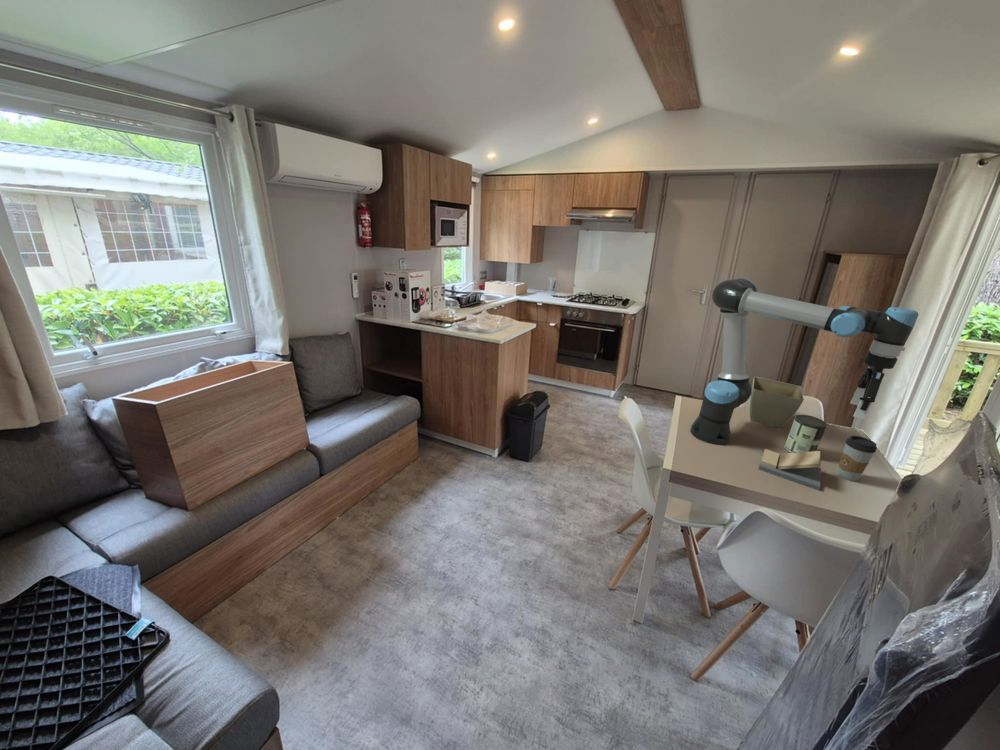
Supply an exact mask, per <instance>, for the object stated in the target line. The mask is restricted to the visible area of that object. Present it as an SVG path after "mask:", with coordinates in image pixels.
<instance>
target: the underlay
mask: <svg viewBox="0 0 1000 750" xmlns="http://www.w3.org/2000/svg"><path fill="white" fill-rule="evenodd" d="M780 456H781V453H779V452H775V451H772V450H770V449H767V448H765V449H764V451H763V453H762V456H761V459H760V463H759V466H758V470H760V471H763V472H766V473H768V474H771V475H774V476H777V477H780V478H782V479H785V480H788V481H791V482H794V483H796V484H800V485H802V486H805V487H808V488H811V489H813V490H817V491H819V490H820V488H821V475H822V473H821V472H822V467H821V466H820V467H811V468H792V469H779V467H778V464H779V460H780Z"/></svg>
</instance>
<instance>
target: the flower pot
mask: <svg viewBox="0 0 1000 750" xmlns="http://www.w3.org/2000/svg"><path fill="white" fill-rule="evenodd" d="M751 387H752V394H751V396H750V398H749V399H750V400H749V420H750V421H751V422H755V423H758V424H763V425H767V426H771V427H774V428H778V429H783V428H784V427H785V426H786V425H787V424H788V423H789V422H790V420H791V419H792V418H793V417H794V416H795V414H796V413H797V412H798V411H799V409H800V407H801V405H802V404H803V402H804V400H805V399H804V395H803V389H802V388H803V387H802V386H801V385H796V384H792V383H788V382H787V383H786V382H783V381H777V380H773V379H769V378H764V377H760V376H753V380H752V385H751Z"/></svg>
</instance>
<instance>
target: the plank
mask: <svg viewBox="0 0 1000 750" xmlns="http://www.w3.org/2000/svg"><path fill="white" fill-rule="evenodd" d="M780 455H781V456H780V460H779V464H778V467H779V469H792V468H811V467H820V468H821V462H822V453H821V451H820V450H816V451H812V452H799V453H791V452H788V453H787V452H786V453H780Z"/></svg>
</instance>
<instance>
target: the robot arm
mask: <svg viewBox="0 0 1000 750" xmlns="http://www.w3.org/2000/svg"><path fill="white" fill-rule="evenodd" d="M711 294H712V295H711V299H712V303H713V304H714V305H715V306H716V307H717V308H718V309H719V311H720V312H719V313H720V315H722V317H723V337H722V359H721V363H722V365H721V372H719V373H718V374H717V380H712V381H710V382H709V383H708V384H707V386H706V388H705V390H704V395H703V399H702V401H701V406H700V408H699V409H700V410H699V414H698V416H697V417H696V419H694V421H693V422H692V424H691V425H690V429H689V431H690V434H691V435H692V436H693V437H695V438H696V439H698V440H700V441H702V442H705V443H708V444H713V445H725V444H728V443H729V442H730V439H731V428H730V425H731V424H730V423H731V419H732V417H733V413H734V410H735V409H736V408H738V407H740V406H741V405H743V404H745V403H747V402H748V400H749V399H751V394H752V385H751V383H750V376H749V374H748V373H746V362H747V361H746V360H747V346H748V345H747V343H748V341H747V340H748V327H749V316H750V315H751V314H755V315H760V316H764V317H767V318H771V319H777V320H780V321H785V322H789V323H792V324H797V325H801V326H805V327H809V328H814V329H819V330H822V331H825V332H826V331H827V332H830V333H833V334H834V335H836V336H838V337H842V338H849V337H853V336H856V335H858V334H860V333H861V332H862V333H867V334H871V335H874V336H875V337H874V338H873V340H872V343H871V344H870V346H869V350H868V351H869V352H867V353H866V356H865V358H864V361H863V363H865V364H866V365H867V367H866V369H865V370H864V372H863V374H862V375H861V377H860V378H859V380H858V381H857V383H858V384H857V387H856V389H855V391H854V393H853V395H852V398H851V400H850V402H849V403H850V405H854V406H855V405H856V406H857V407H856V409H855V411H854V414H853V416H852V417H853V418H856V419H860V420H865V418H866V415H867V413H868V411H869V409H870V407H871V405H872V403H875V401H876V399H877V395H878V392H879V389H880V386H881V384H882V381H883V379H884V377H885V373H884V370H885V369H887V370H892V369H894V368H895V366H896V364H897V361H898V358H897V357H900V354H901V353H902V351H903V352H904V351H905V349H906V348H905V344H906V342H907V341H908V339H909V337H910V336H911V333H912V331H913V328H914V327H915V325H916V323H917V320H918V318H919V312H918V311H916V310H915V309H910V308H905V307H896V306H891V307H890V306H889V307H888V309H887V310H886V311H878V310H874V309H873V310H872V309H867V308H861V307H856V306H848V305H843V306H842V305H841V306H840V307H839V308H835V307H829V306H826V305H821V304H815V303H810V302H805V301H802V300H796V299H793V298H786V297H782V296H777V295H773V294H772V295H771V294H768V293H767V294H766V293H762V292H758V288H757V285H756V284H755V283H754V282H753V281H752V280H750V279H748V278H739V277H738V278H734V279H727V280H724V281H721V282H719V283H718V284H717V285H716V286H714V289H713V290H712V293H711Z"/></svg>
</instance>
